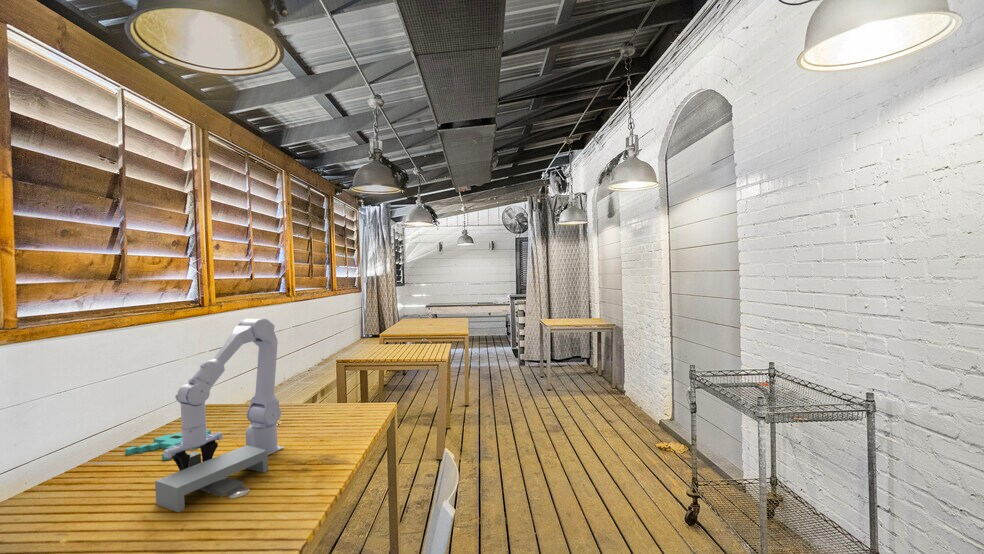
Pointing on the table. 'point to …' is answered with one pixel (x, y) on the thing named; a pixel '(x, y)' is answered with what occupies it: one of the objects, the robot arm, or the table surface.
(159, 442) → the alien figure
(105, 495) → the table surface
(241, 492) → the steel disc
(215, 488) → the scraper
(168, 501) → the grey bench
